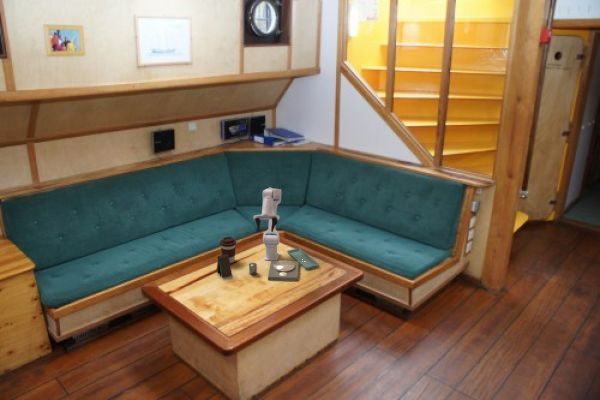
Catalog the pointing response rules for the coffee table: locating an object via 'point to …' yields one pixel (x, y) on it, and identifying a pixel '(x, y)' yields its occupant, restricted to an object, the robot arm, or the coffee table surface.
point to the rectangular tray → (300, 255)
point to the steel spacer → (252, 268)
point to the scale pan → (284, 265)
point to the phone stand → (224, 266)
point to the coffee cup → (228, 247)
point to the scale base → (283, 273)
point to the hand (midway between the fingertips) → (265, 231)
